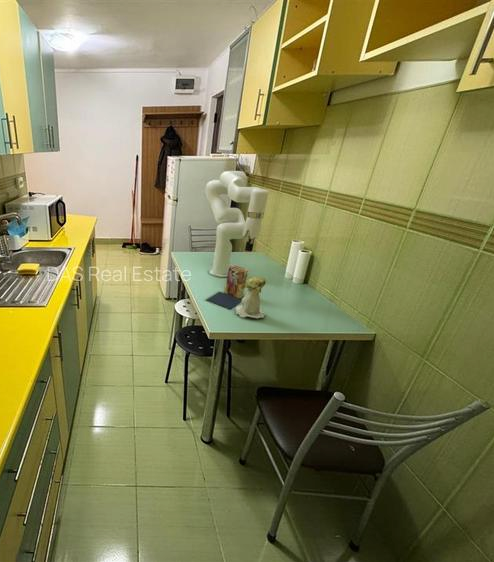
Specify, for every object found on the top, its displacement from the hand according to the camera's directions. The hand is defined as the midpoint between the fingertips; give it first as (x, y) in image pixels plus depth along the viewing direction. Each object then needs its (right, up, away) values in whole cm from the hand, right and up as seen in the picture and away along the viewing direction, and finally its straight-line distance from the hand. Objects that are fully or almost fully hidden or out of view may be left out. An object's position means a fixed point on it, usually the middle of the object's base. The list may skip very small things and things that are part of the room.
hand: (248, 250), depth 156 cm
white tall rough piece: (-5, -31, -14) cm, 34 cm away
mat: (-13, -26, -2) cm, 29 cm away
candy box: (-6, -23, +5) cm, 24 cm away
